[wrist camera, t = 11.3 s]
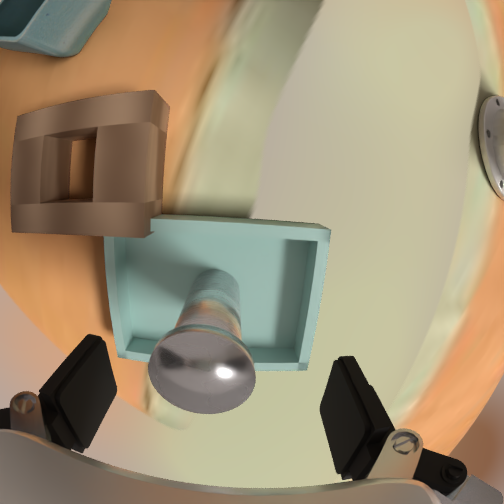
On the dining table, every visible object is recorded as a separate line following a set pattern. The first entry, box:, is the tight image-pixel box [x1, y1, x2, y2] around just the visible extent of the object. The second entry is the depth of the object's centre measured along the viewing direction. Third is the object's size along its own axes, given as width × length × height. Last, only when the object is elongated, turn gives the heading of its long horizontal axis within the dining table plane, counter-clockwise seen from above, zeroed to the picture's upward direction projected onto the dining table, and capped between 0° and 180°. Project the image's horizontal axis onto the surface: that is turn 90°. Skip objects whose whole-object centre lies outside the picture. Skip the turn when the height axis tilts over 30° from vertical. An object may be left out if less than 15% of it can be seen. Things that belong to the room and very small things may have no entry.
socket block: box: [11, 90, 170, 238], centre depth 16 cm, size 12×9×4 cm
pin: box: [148, 269, 256, 414], centre depth 15 cm, size 5×5×10 cm
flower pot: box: [0, 0, 111, 57], centre depth 10 cm, size 9×9×9 cm
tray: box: [104, 214, 331, 371], centre depth 19 cm, size 15×11×3 cm
